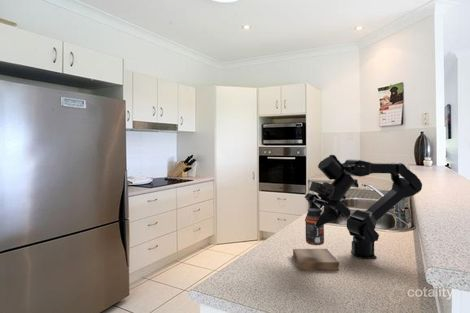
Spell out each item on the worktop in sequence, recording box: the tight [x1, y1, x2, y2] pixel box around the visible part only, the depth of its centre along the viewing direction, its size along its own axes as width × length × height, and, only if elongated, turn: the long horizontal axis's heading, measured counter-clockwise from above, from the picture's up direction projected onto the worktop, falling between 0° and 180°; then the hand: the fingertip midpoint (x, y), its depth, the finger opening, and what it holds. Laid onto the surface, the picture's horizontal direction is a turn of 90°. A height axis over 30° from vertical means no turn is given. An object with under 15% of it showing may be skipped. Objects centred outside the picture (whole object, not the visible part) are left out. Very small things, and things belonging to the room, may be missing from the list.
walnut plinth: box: [292, 248, 340, 271], centre depth 95 cm, size 12×12×2 cm
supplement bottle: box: [304, 208, 325, 246], centre depth 94 cm, size 6×6×11 cm
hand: (310, 223), depth 94 cm, fingers closed on supplement bottle, 6 cm apart
